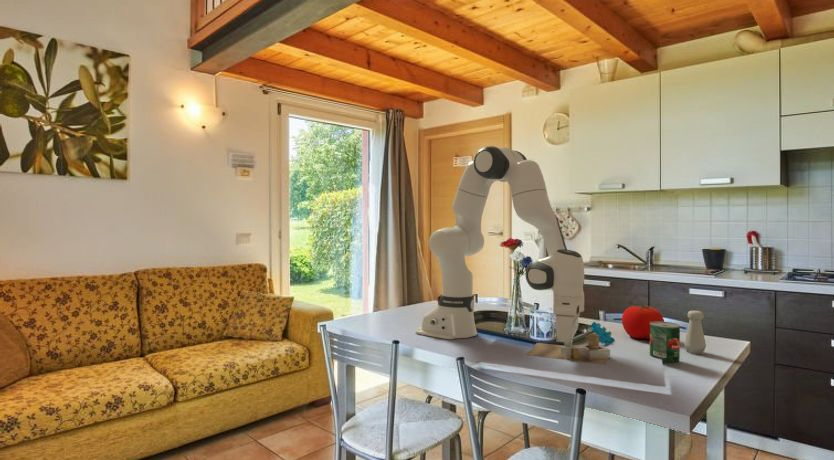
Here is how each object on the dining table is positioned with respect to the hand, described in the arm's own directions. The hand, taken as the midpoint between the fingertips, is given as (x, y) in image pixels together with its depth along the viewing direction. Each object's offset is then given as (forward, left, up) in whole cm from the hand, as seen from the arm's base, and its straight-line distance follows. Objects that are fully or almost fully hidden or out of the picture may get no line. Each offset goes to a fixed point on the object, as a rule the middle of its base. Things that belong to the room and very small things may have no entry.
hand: (568, 350), depth 141 cm
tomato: (+20, +37, -3) cm, 42 cm away
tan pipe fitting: (+4, -1, -1) cm, 5 cm away
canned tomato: (+26, +10, -3) cm, 28 cm away
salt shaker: (+35, +24, -3) cm, 42 cm away
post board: (0, +1, -3) cm, 3 cm away
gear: (+8, +20, -3) cm, 22 cm away
